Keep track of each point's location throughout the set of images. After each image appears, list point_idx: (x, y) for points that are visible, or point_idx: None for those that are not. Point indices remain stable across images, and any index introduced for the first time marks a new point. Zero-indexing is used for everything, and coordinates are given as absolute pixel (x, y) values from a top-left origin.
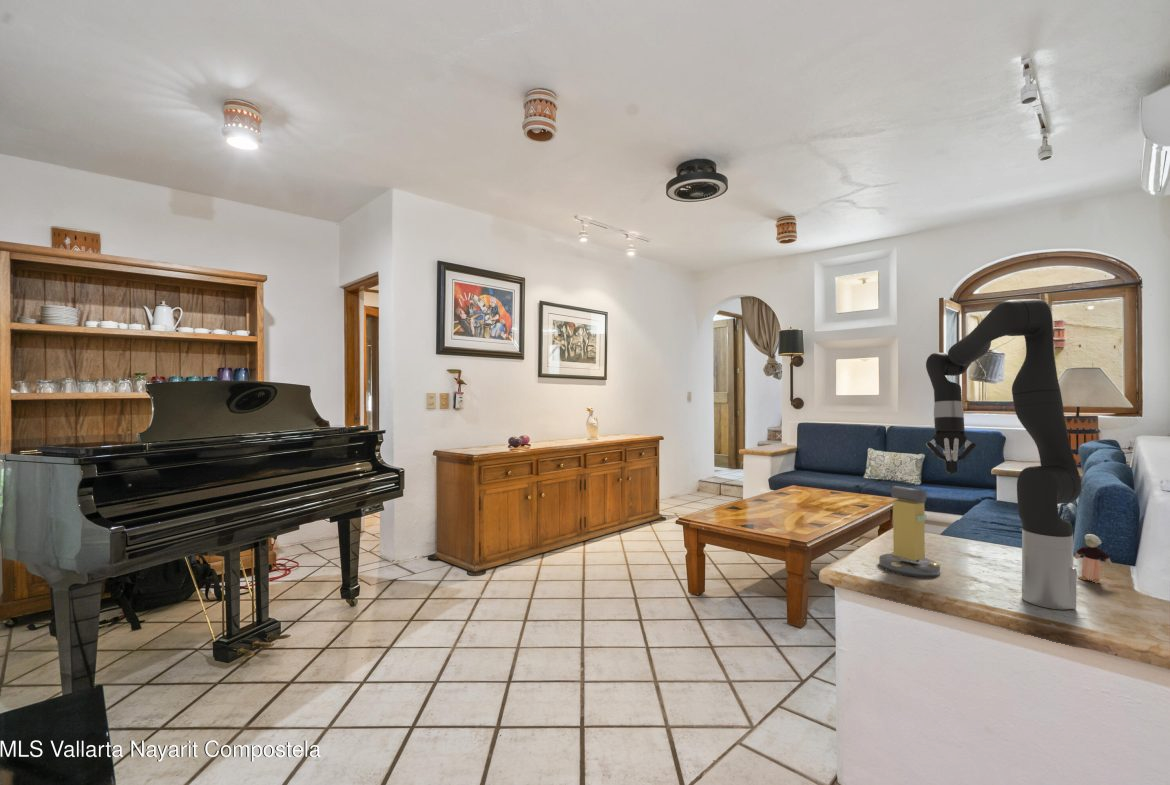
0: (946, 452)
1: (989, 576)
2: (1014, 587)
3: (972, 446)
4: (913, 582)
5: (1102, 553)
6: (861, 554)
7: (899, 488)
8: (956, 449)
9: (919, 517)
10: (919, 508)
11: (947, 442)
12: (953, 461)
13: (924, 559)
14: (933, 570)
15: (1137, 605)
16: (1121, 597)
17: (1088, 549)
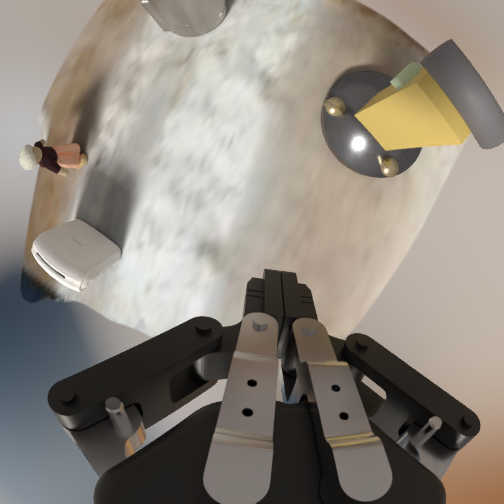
0: (336, 363)
1: (231, 112)
2: (211, 63)
3: (80, 387)
4: (380, 52)
5: (37, 144)
6: (431, 202)
7: (499, 107)
8: (245, 378)
9: (414, 63)
10: (423, 72)
11: (349, 448)
12: (272, 313)
13: (343, 143)
14: (345, 76)
15: (79, 62)
16: (77, 87)
17: (46, 152)
